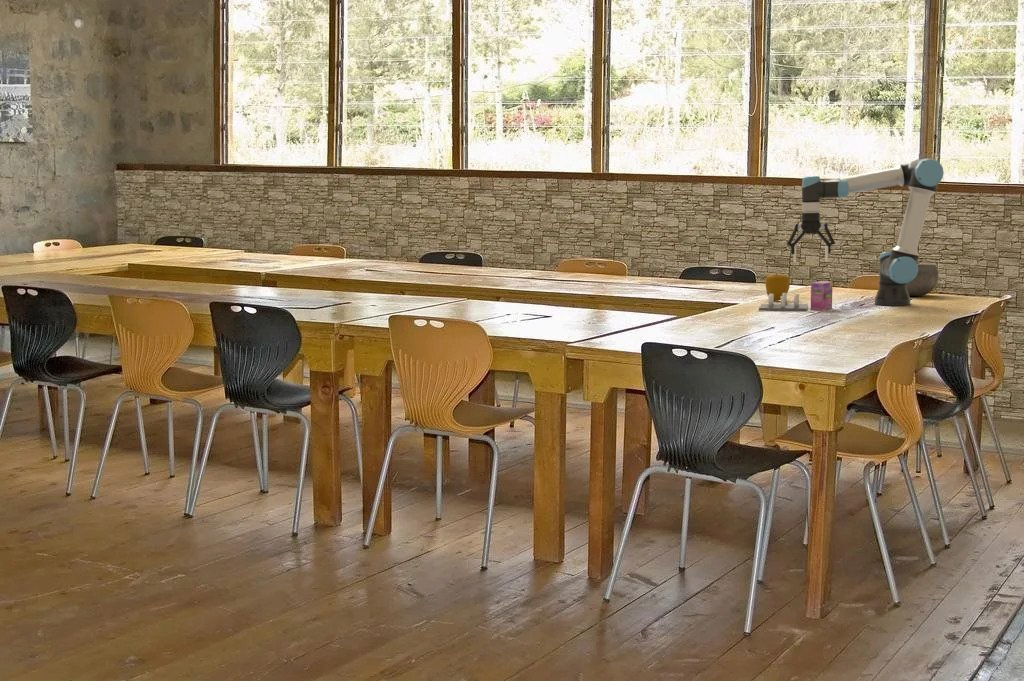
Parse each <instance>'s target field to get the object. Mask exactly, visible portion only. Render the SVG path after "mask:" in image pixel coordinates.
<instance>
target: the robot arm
mask: <svg viewBox="0 0 1024 681" xmlns="http://www.w3.org/2000/svg"><path fill="white" fill-rule="evenodd" d="M944 172H945V171H944V168H943V166H942V164H941V163H940V162H939V161H938V160H936V159H933V158H927V157H926V158H918V159H916V160H912V161H910V162H905V163H903V164H902V163H901V164H898V165H897V166H896V167H894V168H888V169H881V170H876V171H870V172H866V173H865V172H864V173H860V174H854V175H850V176H844V177H839V178H833V179H825V180H821V177H820V176H819V175H817V176H816V175H810V176H807V175H806V176H804V177H802V183H801V212H802V213H801V224H800V223H799V224H798V223H794V227H793V230H792V232H791V234H790V236H789V238H788V240H787V241H786V242H787V243H786V246H789V247H790V254H791V255H792V256H793V257H792V258H793V262H794V263H797V246H796V245H797V244H798V243H799V241H800V240H801V239H802V237H803V236H804V235H811V234H812V235H815V234H817V235H818V237H820V239H821V240H822V241H823V242H824V243H825V244H826V245H825V246H824V247H825V248H824V249H825V251H824V252H825V254H824V262H829V254H831V252H832V251H831V248H832V247H831V246H833V245H835V244H836V242H835V240H834V238H833V236H832V234H831V232H830V229H829V227H828V223H826V222H825V223H821V216H820V215H821V214H820V211H821V200H820V199H841V198H843V199H844V198H847V197H848V196H849V195H851V194H855V193H861V192H866V191H872V190H877V189H883V188H889V187H893V186H894V187H895V186H900V187H908V190H909V191H910V194H909V197H908V200H907V201H908V202H907V205H906V208H905V213H904V215H903V216H904V217H903V220H902V224H901V228H900V230H899V231H900V232H899V234H898V240H897V243H896V246H895V247H893V248H892V249H891V250H890V251H884V252H881V253H880V254H879V259H878V260H879V266H878V267H879V274H878V276H879V277H878V284H879V286H878V289H877V292H876V294H875V298H874V304H875V305H879V306H908V305H911V297H910V296H909V293H908V290H907V283H908V282H910V281H912V280H913V279H914V278H915V277H916V275H917V273H918V265H917V264H918V261H919V258H920V254H919V252H918V246H919V244H920V239H921V235H922V232H923V228H924V224H925V219H926V217H927V213H928V210H929V206H930V201H931V197H932V196H933V195H934V194H936V193H937V189H938V186H939V184H940V183H941V181H942V179H943V178H944V174H945V173H944ZM800 228H801V229H802V231H801V232H800V233H799V234H798V236H797V237H796V238H795V236H796V234H797V232H798V230H800ZM820 228H822V229H823V230H824V232H825V234H826V235H827V238H826V237H825V236H824V235H823V232H821V230H820ZM828 239H829V240H828Z"/></svg>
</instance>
